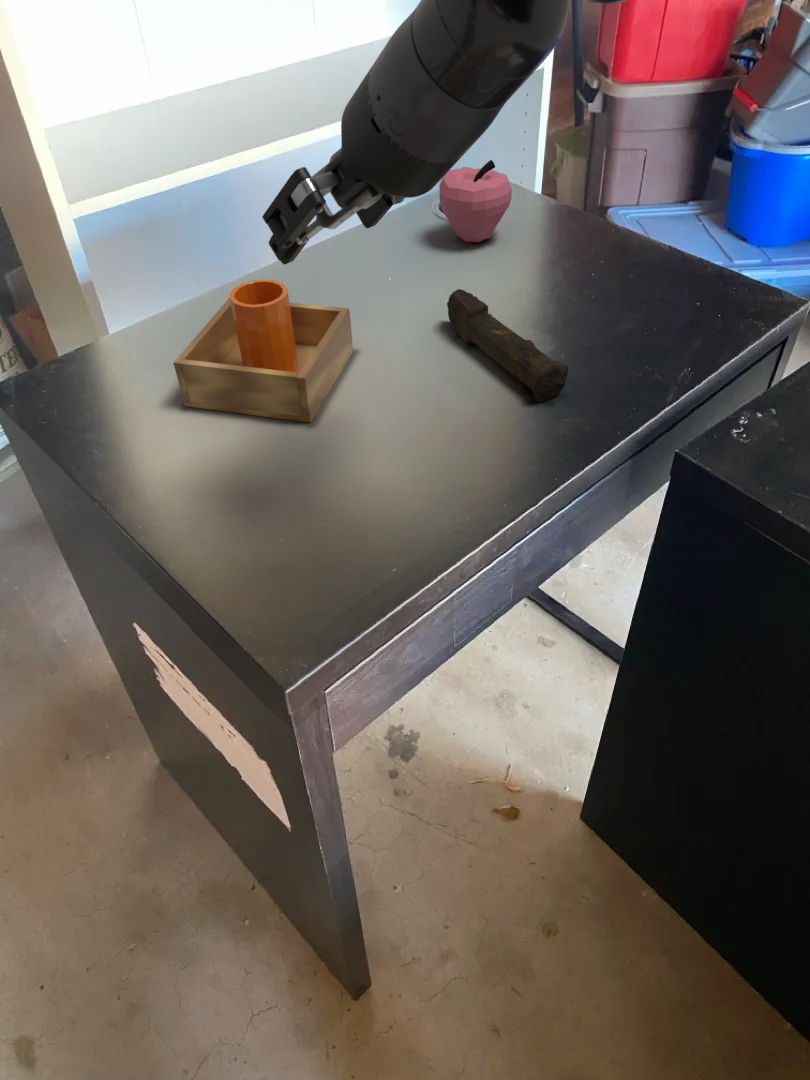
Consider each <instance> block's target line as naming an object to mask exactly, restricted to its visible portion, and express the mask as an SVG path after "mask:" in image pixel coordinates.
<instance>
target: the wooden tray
mask: <svg viewBox="0 0 810 1080" xmlns="http://www.w3.org/2000/svg"><path fill="white" fill-rule="evenodd" d="M290 309H291V316H292V323H293V330H294V336H295V343H296V350H297V357H298V365H299V373H296V372H287V371H279V370H270V369H262V368H254V367H245V366H243V363H242V358H241V353H240V348H239V343H238V338H237V333H236V328H235V323H234V318H233V313H232V308H231V303H230V297H228V299H226V301H225V302H224V303H223V304H222V305H221V306H220V308H219V309H218V310H217V311H216V312H215V313H214V315H213V316H212V317H211V318H210V319H209V321H207V323H206V324H205V325H204V327H202V328H201V330H200V331H199V332H198V333H197V334H196V336H194V338H193V339H192V340H191V341H190V343H189V344H188V345H187V346H186V347H185V348H184V349H183V350H182V352H181V353H179V355H178V356H177V358H175V360H174V361H173V362H172V363H173V366H174V367H173V368H174V371H175V374H176V378H177V382H178V386H179V390H180V393H181V397H182V402H183V405H184V407H188V408H197V409H205V410H212V411H219V412H221V411H222V412H227V413H235V414H241V415H250V416H258V417H265V418H273V419H280V420H287V421H288V420H289V421H296V422H303V423H312V421H314V418H315V417H316V415H317V413H318V412H319V410H320V408H321V407H322V405H323V403H324V401H325V400H326V398H327V396H328V394H329V393H330V391H331V389H332V388H333V386H334V384H335V383H336V381H337V380H338V377H339V376H340V374H341V373H342V371H343V370H344V367H345V366H346V364H347V362H348V361H349V359H350V357H351V356H352V354H353V352H354V345H353V333H352V323H351V322H352V321H351V310H350V308H349V307H341V306H340V307H339V306H330V305H318V304H311V303H310V304H309V303H299V302H290Z"/></svg>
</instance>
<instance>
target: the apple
mask: <svg viewBox="0 0 810 1080" xmlns="http://www.w3.org/2000/svg"><path fill="white" fill-rule="evenodd" d="M495 168H496V164H495V162H494V161H493V160H492V159H490V160H489V161H487V162H486V163H484V165H483V166H482V167H481V168H473V167H469V166H462V167H460V168H455V169H450V170H449V171H448V172H447V173H446V174H445V175H444V177H443V178H442V179H441V180H440V183H439V203H440V207H441V211H442V212H443V214H444V215H445V217H446V219H447V220H448V222H449V224H450V225H451V226H452V229H453V231H454V232H455V234H456V236H457V237H458V238H460V239H461V240H463V241H464V242H465V243H480V242H482V241H485V240H488V239H490V238H491V237H492V236H493V233H494V231H495V229H496V227H497V226H498V225H499V223H500V221H501V220H502V218H503V217H504V215H505V213H506V211H507V210H508V208H509V207H510V204H511V200H512V196H513V189H512V185H511V182H510V180H509V178H508V175H507V174H506V173H502V172H499V171H496V170H494V169H495Z"/></svg>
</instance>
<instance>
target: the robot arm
mask: <svg viewBox="0 0 810 1080" xmlns="http://www.w3.org/2000/svg"><path fill="white" fill-rule="evenodd" d="M582 1H583V2H589V3H594V4H617V3H622V2H627V1H628V0H582ZM570 4H571V0H420V1H419V2H418V4H417V6H416V7H415V9H414V10H413V11H412V12H411V13H410V14H409V15H408V16H407V17H406V18H405V19H404V21H402V23H401V24H400V25H399V26H398V27H397V28H396V30H395V31H394V33H393V34H392V35H391V36H390V37H389V39H388V41H387V42H386V44H385V46H384V47H383V49H382V50H381V51H380V53H379V55H378V56H377V57H376V59H375V61H374V62H373V64H372V65H371V67H370V68H369V70H368V72H367V73H366V74H365V76H364V78H363V79H362V80H361V82H360V83H359V85H358V87H357V88H356V90H355V91H354V93H353V94H352V96H351V97H350V99H349V100H348V101H347V104H346V105H345V108H344V110H343V112H342V116H341V123H340V131H341V132H340V133H341V134H340V136H341V137H340V138H341V148H339V149H338V150H337V151H335V152H334V153H333V154H332V155H331V156H330V159H329V162H328V163H327V164H325V165H324V166H323V167H322V168H321V169H319V170H318V171H317V172H316V173H314V174H313V175H311V173H310V172H309V170H308V168H307V167H306V166H303V167H300V168H297V169H295V170H294V171H293V173H292V174H291V175H290V177H289V178H288V179H286V182H285V183H284V185H283V186H282V188H281V189H280V190H279V192H278V193H277V195H276V196H275V198H274V199H273V200H272V202H271V203H270V205H269V206H268V207H267V209H266V210H265V212H264V213H263V214H262V216H261V217H262V219H263V221H264V223H265V224H266V225H267V227H269V230H270V231H271V233H272V235H271V236H270V238H269V241H268V246H269V247H270V249H271V250H272V252H273V254H274V256H275V257H276V258H277V260H278V261H279V262H281V264H283V265H288V264H290V263H292V262H294V261H295V259H296V258H297V257H298V256H299V254H300V253H301V252H302V250H303V249H304V248H305V246H306V245H307V244H308V242H309V241H310V240H311V239H312V238H313V237H315V236H316V235H317V234H319V233H320V232H321V231H322V230H324V229H328V230H335V229H337V228H338V227H339V226H341V225H342V224H344V222H346V221H347V220H349V219H350V218H351V217H352V216H354V215H355V214H356V215H357V217H358V219H359V221H360V222H361V224H362V225H363V227H364V228H365V229H370V228H372V227H375V226H376V225H377V224H378V223H379V222H380V221H381V220H382V218H384V216H385V215H386V214H387V213H388V212H389V210H390V209H392V207H393V206H394V205H395V206H396V205H397V204H398V205H399V204H401V203H402V202H404V201H405V199H406V198H407V199H410V198H417V197H421V196H423V195H425V194H427V193H428V192H430V191H431V190H432V189H434V187H435V186H436V185H438V184H439V182H441V181H442V179H443V177H444V175H445V174H446V173H447V172H448V171H449V170H452V168H453V167H454V166H455V165H456V164H457V163H458V161H460V160H461V158H462V157H463V156H464V155H465V154H466V153H467V152H468V151H469V150H470V148H472V147H473V145H475V143H476V142H478V140H479V139H480V138H481V137H482V136H483V135H484V134H485V133H486V131H487V130H488V129H489V128H490V127H491V125H492V124H493V122H494V121H495V119H496V118H497V117H498V115H499V113H500V111H501V110H502V109H503V107H504V106H505V105H506V104H507V102H509V100H510V99H511V98H512V96H514V94H515V93H516V92H517V91H519V89H520V88H521V87H522V86H523V85H524V84H525V83H526V81H527V80H528V79H529V78H530V77H531V76H532V75H533V73H535V72H536V71H537V70H538V68H539V67H540V66H541V65H542V64H543V63H544V62H545V60H546V59H547V58H548V57H549V56H550V55H551V53H552V52H553V50H554V49H555V48H556V46H557V44H558V42H559V41H560V39H561V37H562V35H563V33H564V31H565V28H566V25H567V21H568V17H569V12H570ZM328 194H330V195H331V196H332V198H333V200H334V201H335V203H336V205H337V206H338V207H339V208H340V209H339V210H338V211H336V212H335V213H333V212H332V210H331V209H330V207H329V206H328V203H327V201H326V199H325V196H326V195H328ZM314 218H315V220H314ZM313 220H314V221H313Z"/></svg>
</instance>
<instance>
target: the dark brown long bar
mask: <svg viewBox="0 0 810 1080" xmlns="http://www.w3.org/2000/svg"><path fill="white" fill-rule="evenodd" d="M446 306H447V315H448V320H449V322H450V325H451V326H452V327H453V329H454V331H455V332H456V333H457V334H458V336H459V337H460V338H461V339H462V340H463V341H464V343H465V344H467V345H476V346H478V347H479V349H481V350H482V351H483V352H484V353H485V354H486V355H487V356H488V357H489V358H491V359H493V360H494V361H496V362H497V363H498V364H499V365H501V366H502V367H503V368H504V369H505V370H506V371H507V372H508V373H510V375H512V376H514V377H515V378H516V379H518V380H519V381H520V382H522V384H524V385H525V386H526V387H528V388H530V389H531V391H532V393H533V394H532V397H533V399H534V400H535V401H536V402H537V403H542V402H544V401H548V400H549V399H552V398H554V397H555V396H557V395H559V394H560V393H561V392H562V391H563V389H564V388H565V386H566V381H567V378H568V375H569V366H568V364H567V363H565V362H562V361H560V360H556V359H555V360H554V359H552V358H551V357H549V356H548V355H546V354H545V353H544V352H543V351H541V350H540V349H538V348H537V346H536V345H535V344H534V342H533V341H532V340H531V339H525V338H523V337H522V336H521V335H519V334H517V333H516V332H514V331H513V330H512V329H511V328H509V327H508V326H507V325H505V324H503V323H502V322H500V321H499V320H498V319H497V318H496V317H494V316H493V315H492V314H491V313H489V305H487V304H486V303H485V302H484V301H483V300H480V299H479V298H478V296H477V295H476V296H475V295H474V294H473V293H471V292H467V291H466V290H464V289H460V288H457V289H456V290H454V291H453V292H451V294H450V295H449V297H448V301H447V302H446Z"/></svg>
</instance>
